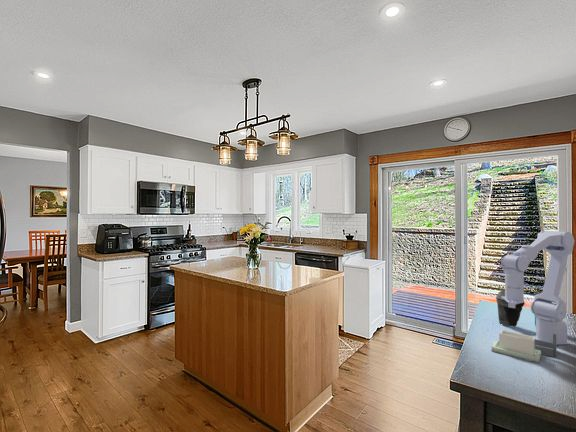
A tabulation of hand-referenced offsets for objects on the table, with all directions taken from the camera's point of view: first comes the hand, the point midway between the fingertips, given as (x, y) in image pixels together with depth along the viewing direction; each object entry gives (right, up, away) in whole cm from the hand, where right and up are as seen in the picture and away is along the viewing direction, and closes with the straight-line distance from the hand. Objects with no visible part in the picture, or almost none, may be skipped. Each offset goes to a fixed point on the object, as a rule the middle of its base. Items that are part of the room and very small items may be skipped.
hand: (513, 322), depth 117 cm
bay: (+9, -9, -3) cm, 13 cm away
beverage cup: (+15, -10, +25) cm, 31 cm away
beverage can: (+27, -10, +19) cm, 35 cm away
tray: (-3, -9, -5) cm, 11 cm away
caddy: (-3, -9, -5) cm, 10 cm away
